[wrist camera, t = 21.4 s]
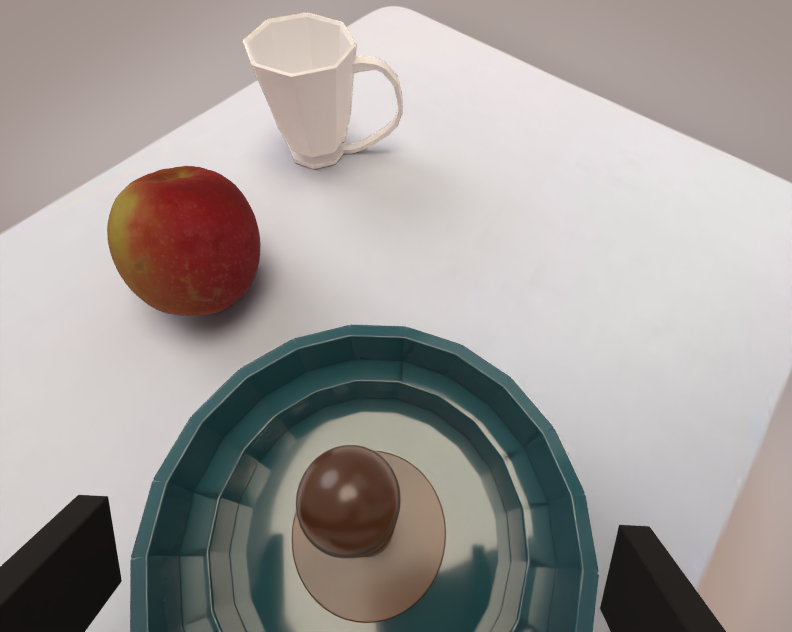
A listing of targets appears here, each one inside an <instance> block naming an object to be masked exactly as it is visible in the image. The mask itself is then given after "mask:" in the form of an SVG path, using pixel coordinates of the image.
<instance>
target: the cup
mask: <svg viewBox="0 0 792 632" xmlns="http://www.w3.org/2000/svg"><path fill="white" fill-rule="evenodd" d="M243 43H244V45H245V48H246V51H247V54H248V56H249V59H250V62H251V64H252V67H253V69H254V71H255V74H256V76H257V79H258V81H259V84H260V86H261V88H262V90H263V93H264V95H265V97H266V99H267V102H268V104H269V107H270V109H271V111H272V114H273V116H274V119H275V121H276V124H277V126H278V128H279V130H280V132H281V134H282V136H283V137H284V139H285V141H286V143H287V144H288V146H289V149H290V151H291V154H292V156H293V159H294V162H295V163H297V164H300V165H303V166H306V167H309V168H312V169H318V168H322V167H326V166H330V165H334V164H336V163H337V162H338V160H339V159H340V158H341V156H342V155H343V154H344V153H355V152H358V151H361V150H364V149H367V148H368V147H370V146H372V145H374V144H375V143H377V142H379V141H380V140H382V139H384V138H385V137H387V136H388V135H389V134H390V133H391V132H392V131H393V130H394V129H395V128H396V127H397V126H398V124H399V121H400V119H401V116H402V110H403V105H402V91H401V88H400V84H399V80H398V76H397V74H396V73H395V72H394V71H393V70H392V68H391V67H390V66H389V65H388V63H387V62H385V61H383V60H381V59H378V58H375V57H368V56H357V57H356V45H357V44H356V43H355V41H354V39H353V38H352V36H351V34H350V33H349V31H348V29H347V28H346V26H345V24H344V22H341V21H337V20H333V19H329V18H326V17H322V16H318V15H315V14H311V13H307V12H305V13H300V14H294V15H289V16H283V17H277V18H271V19H266V20H265V21H264V22H263V23H262V24H261V25H260V26H259V27H257V28H256V29H255V30H254V31H253V32H252V33H251V34H250V35H249V36H247V37H246V38H245V39H244V40H243ZM369 70H377V71H380V72H382V73H383V74H384V75H385V76H386V77H387V79H388V80H389V81H390V82H391V83H392V85H393V86H394V89H395V93H396V97H397V101H398V109H397V112H396V115H395V117H394V119H393V120H392V121H391V122H389V123H388V124H387V125H386V126H385V127H384V128H382V129H380V130H379V131H377V132H376V133H374V134H373V135H371V136H369V137H368V138H366V139H364V140H361V141H358V142H355V143H353V144H350V143H344V142H343V140H344V139H345V138H346V134H347V130H348V125H349V120H350V115H351V105H352V92H353V79H354V73H357V72H361V71H369Z"/></svg>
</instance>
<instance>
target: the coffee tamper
mask: <svg viewBox="0 0 792 632" xmlns="http://www.w3.org/2000/svg"><path fill="white" fill-rule="evenodd" d="M445 543H446V526H445V518H444V513H443V509H442V506H441V503H440V500H439V498H438V496H437V494H436V492H435V490H434V488H433V486H432V485H431V483H430V482H429V480H428V479H427V478H426V477H425V476H424V474H423V473H422V472H421V471H420V470H419V469H417V468H416V467H415V466H414V465H412V464H411V463H410V462H408V461H407V460H405V459H403V458H401V457H399V456H396V455H393V454H390V453H386V452H381V451H373V450H371V449H368V448H366V447H363V446H357V445H343V446H339V447H335V448H333V449H330V450H328V451H326V452H324V453H323V454H321V455H320V456H319V457H317V458H316V459H315V460H314V461H313V462H312V463H311V464H310V465H309V467H308V468H307V470H306V471H305V473H304V474H303V476H302V479H301V481H300V483H299V486H298V490H297V495H296V513H295V516H294V521H293V527H292V552H293V557H294V562H295V566H296V569H297V572H298V575H299V577H300V579H301V581H302V583H303V585H304V586H305V588H306V589H307V591H308V592H309V594H310V595H311V596H312V597H313V599H314V600H315V601H316V602H317V603H318V604H319V605H321V606H322V607H323V608H324V609H325V610H327V611H328V612H330V613H332V614H333V615H335V616H337V617H340V618H342V619H345V620H348V621H353V622H359V623H374V622H381V621H385V620H389V619H391V618H394V617H396V616H398V615H400V614H402V613H404V612H405V611H407V610H409V609H410V608H411V607H412V606H413V605H415V604H416V603H417V602H418V601H419V600H420V599H421V598H422V597H423V596H424V595H425V593H426V592H427V591H428V589H429V588H430V586H431V585H432V583H433V582H434V580H435V578H436V576H437V574H438V571H439V569H440V566H441V564H442V560H443V556H444V551H445Z"/></svg>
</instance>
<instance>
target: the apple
mask: <svg viewBox="0 0 792 632" xmlns="http://www.w3.org/2000/svg"><path fill="white" fill-rule="evenodd" d="M107 232H108V244H109V249H110V253H111V256H112V259H113V261H114V264H115V266H116V268H117V270H118V272H119V274H120V275H121V277H122V279H123V280H124V281H125V283H126V284H127V285H128V287H129V288H130V289H131V290H132V291H133V292H134V293H135V294H136V295H137V296H138V297H139V298H141V299H142V300H143V301H144V302H146V303H147V304H148V305H150V306H152V307H153V308H155V309H157V310H159V311H162V312H165V313H169V314H176V315H186V316H197V315H207V314H212V313H217V312H220V311H223V310H224V309H226V308H228V307H229V306H231V305H233V304H234V303H235V302H236V301H237V300H238V299H240V298H241V297H242V296H243V294H244V293H245V292H246V291H247V289H248V288H249V286H250V285H251V283H252V281H253V279H254V276H255V274H256V271H257V267H258V264H259V258H260V237H259V230H258V226H257V222H256V218H255V215H254V213H253V211H252V209H251V207H250V205H249V203H248V201H247V200H246V198H245V197H244V195H243V194H242V192H241V191H240V190H239V189H238V188H237V187H236V185H235V184H233V183H232V182H231V181H230V180H228V179H227V178H225V177H224V176H222V175H221V174H219V173H217V172H214V171H211V170H207V169H204V168H201V167H194V166H182V167H175V168H169V169H163V170H159V171H156V172H154V173H151V174H147V175H145V176H143V177H141V178H139V179H137V180H135V181H133V182H131V183H130V184H129V185H128V186H127V187H126V188H125V189H124V190H123V191H122V192H121V193H120V194H119V195H118V196H117V198H116V199H115V201H114V203H113V205H112V208H111V211H110V215H109V220H108V228H107Z"/></svg>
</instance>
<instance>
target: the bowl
mask: <svg viewBox="0 0 792 632" xmlns="http://www.w3.org/2000/svg"><path fill="white" fill-rule="evenodd" d="M343 445H357V446H363V447H366V448H368V449H371V450H373V451H381V452H386V453H390V454H393V455H396V456H399V457H401V458H403V459H405V460H407V461H408V462H410V463H411V464H412V465H414V466H415V467H416V468H417V469H419V470H420V471H421V472H422V473H423V474H424V476H425V477H426V478H427V479H428V480H429V482H430V483H431V485H432V486H433V488H434V490H435V492H436V494H437V496H438V498H439V500H440V503H441V506H442V509H443V513H444V518H445V526H446V543H445V551H444V556H443V560H442V564H441V566H440V569H439V571H438V574H437V576H436V578H435V580H434V582H433V583H432V585H431V586H430V588H429V589H428V591H427V592H426V593H425V595H424V596H423V597H422V598H421V599H420V600H419V601H418V602H417V603H416V604H415V605H413V606H412V607H411V608H410V609H409V610H407V611H405V612H404V613H402V614H400V615H398V616H396V617H394V618H391V619H389V620H385V621H381V622H374V623H359V622H353V621H348V620H345V619H342V618H340V617H337V616H335V615H333V614H332V613H330V612H328V611H327V610H325V609H324V608H323V607H322V606H321V605H319V604H318V603H317V602H316V601H315V600H314V599H313V597H312V596H311V595H310V594H309V592H308V591H307V589H306V588H305V586H304V585H303V583H302V581H301V579H300V577H299V575H298V572H297V569H296V566H295V562H294V557H293V552H292V527H293V521H294V516H295V513H296V495H297V490H298V486H299V483H300V481H301V479H302V476H303V474H304V473H305V471H306V470H307V468H308V467H309V465H310V464H311V463H312V462H313V461H314V460H315V459H316V458H317V457H319V456H320V455H321V454H323V453H324V452H326V451H328V450H330V449H333V448H335V447H339V446H343ZM131 558H132V559H131V596H130V632H593V622H594V613H595V604H596V594H597V585H598V576H599V575H598V566H597V560H596V554H595V549H594V543H593V537H592V531H591V525H590V520H589V514H588V508H587V502H586V496H585V494H584V490H583V488H582V486H581V484H580V482H579V480H578V478H577V476H576V473H575V471H574V469H573V467H572V465H571V463H570V461H569V459H568V456H567V454H566V452H565V450H564V448H563V446H562V444H561V441H560V439H559V437H558V435H557V433H556V431H555V429H553V426H552V425H551V424H550V423H549V421H548V420H547V419H546V418H545V417H544V416H543V414H542V413H541V412H540V411H539V410H538V409H537V407H536V406H535V405H534V404H533V403H532V402H531V400H530V399H529V398H528V397H527V396H526V395H525V393H524V392H523V391H522V390H521V389H520V388H519V386H518V385H517V384H516V383H515V382H514V381H513V379H511V377H509V376H508V375H506V374H505V373H503V372H502V371H500V370H499V369H497V368H496V367H494V366H493V365H491V364H490V363H488V362H487V361H485V360H484V359H482V358H481V357H479V356H478V355H476V354H475V353H473V352H472V351H470V350H469V349H468V348H466V347H465V346H463V345H461V344H458V343H455V342H452V341H449V340H446V339H443V338H440V337H437V336H433V335H430V334H427V333H424V332H421V331H418V330H415V329H412V328H409V327H407V328H406V327H403V326H373V325H350V326H349V325H347V326H343V327H339V328H335V329H331V330H327V331H323V332H319V333H315V334H311V335H307V336H303V337H299V338H295V339H294V340H290V341H288V342H287V343H285V344H283V345H281V346H280V347H278V348H276V349H274V350H272V351H271V352H269V353H267V354H265V355H264V356H262V357H260V358H258V359H256V360H255V361H253V362H251V363H249V364H248V365H246V366H244V367H242V368H241V369H240V370H238V371H237V372H236V373H235V374H234V375H233V376H232V377H231V378H230V379H229V380H228V381H227V382H226V383H224V384H223V385H222V386H221V387H220V388H219V389H218V390H217V391H216V392H215V393H214V394H213V395H212V396H211V397H210V398H209V399H208V400H207V401H206V402H205V403H204V404H203V405H202V406H201V407H200V408H199V409H198V410H197V411H196V412H195V413H194V414H193V415H192V417H190V419H189V420H188V422H187V424H186V425H185V427H184V429H183V430H182V432H181V434H180V435H179V437H178V439H177V440H176V442H175V444H174V445H173V447H172V449H171V450H170V452H169V454H168V455H167V457H166V459H165V460H164V462H163V464H162V465H161V467H160V469H159V470H158V472H157V474H156V475H155V477H154V481H153V482H152V485H151V488H150V492H149V495H148V499H147V502H146V506H145V509H144V513H143V516H142V520H141V523H140V527H139V531H138V534H137V538H136V541H135V545H134V548H133V552H132V555H131Z"/></svg>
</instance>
